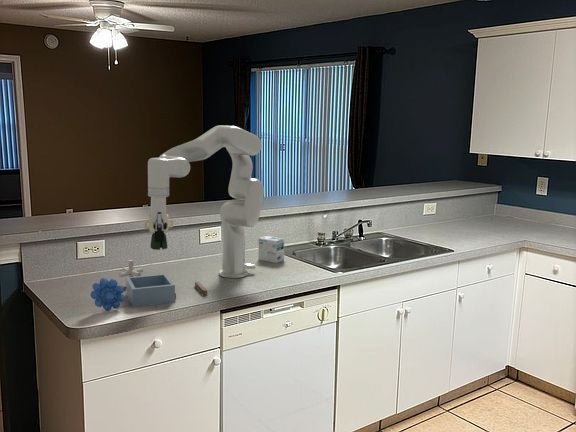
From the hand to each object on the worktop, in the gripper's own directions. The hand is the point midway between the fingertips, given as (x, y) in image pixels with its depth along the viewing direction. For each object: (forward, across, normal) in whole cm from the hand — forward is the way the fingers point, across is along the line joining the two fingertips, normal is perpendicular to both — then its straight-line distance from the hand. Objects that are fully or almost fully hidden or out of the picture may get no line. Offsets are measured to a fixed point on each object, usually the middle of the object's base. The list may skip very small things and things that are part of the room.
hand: (159, 239), depth 214 cm
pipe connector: (+23, -17, -10) cm, 30 cm away
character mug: (+4, 0, 0) cm, 4 cm away
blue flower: (+23, +12, -18) cm, 31 cm away
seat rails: (+22, -4, +10) cm, 25 cm away
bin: (+22, +1, -3) cm, 23 cm away
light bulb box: (+22, -44, +53) cm, 72 cm away
